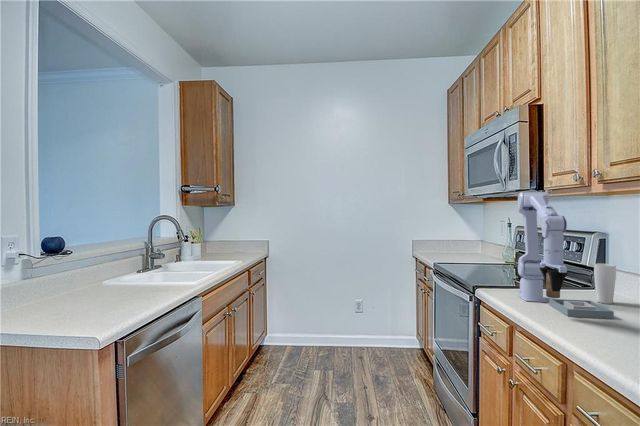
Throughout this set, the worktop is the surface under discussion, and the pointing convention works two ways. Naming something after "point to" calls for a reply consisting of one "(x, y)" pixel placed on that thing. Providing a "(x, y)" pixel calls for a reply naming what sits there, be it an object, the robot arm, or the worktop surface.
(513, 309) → the worktop surface
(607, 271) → the drinking glass
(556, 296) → the walnut peg
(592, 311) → the candle dish
